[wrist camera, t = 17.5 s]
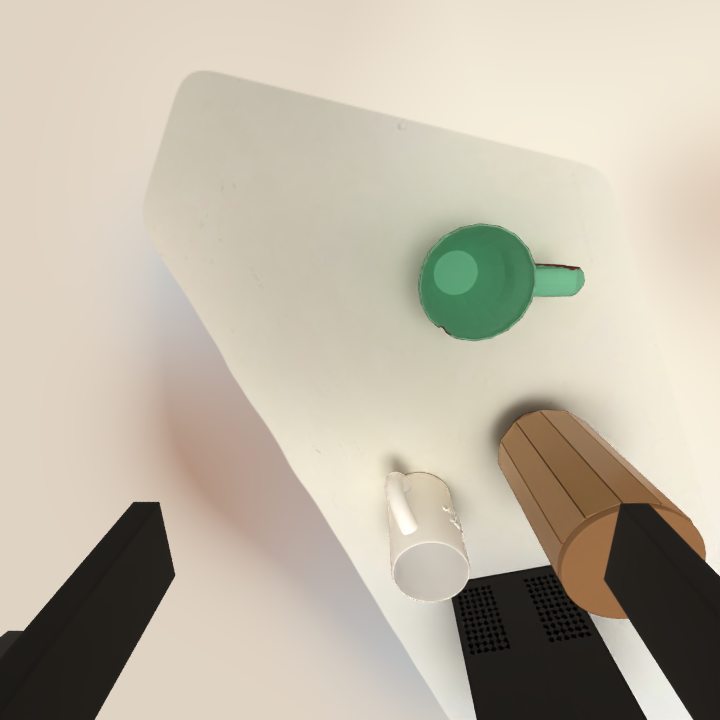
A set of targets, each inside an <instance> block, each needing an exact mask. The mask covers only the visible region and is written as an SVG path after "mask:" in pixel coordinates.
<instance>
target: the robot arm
mask: <svg viewBox="0 0 720 720" xmlns="http://www.w3.org/2000/svg"><path fill="white" fill-rule="evenodd" d="M174 577H175V572H174V567H173V562H172V558H171V553H170V549H169V544H168V540H167V535H166V530H165V526H164V521H163V517H162V512H161V507H160V503H159V502H133V503H132V504H131V506H130V507H129V508H128V509H127V510H126V512H125V513H124V514H123V515H122V516H121V517H120V519H119V520H118V521H117V522H116V523H115V524H114V526H113V527H112V528H111V529H110V530H109V531H108V533H107V534H106V535H105V536H104V537H103V539H102V540H101V541H100V542H99V543H98V544H97V545H96V547H95V548H94V549H93V550H92V551H91V553H90V554H89V555H88V556H87V557H86V558H85V560H84V561H83V562H82V563H81V564H80V565H79V567H78V568H77V569H76V570H75V571H74V573H73V574H72V575H71V576H70V577H69V578H68V579H67V581H66V582H65V583H64V584H63V586H62V587H61V588H60V589H59V590H58V591H57V592H56V594H55V595H54V596H53V597H52V598H51V599H50V601H49V602H48V603H47V604H46V605H45V606H44V608H43V609H42V610H41V611H40V612H39V614H38V615H37V616H36V617H35V618H34V619H33V621H32V622H31V623H30V624H29V625H28V627H27V628H26V629H25V630H24V631H8V632H6V633H5V634H4V635H3V636H1V637H0V720H95V718H96V716H97V715H98V713H99V711H100V709H101V707H102V706H103V704H104V702H105V700H106V698H107V697H108V695H109V693H110V691H111V689H112V688H113V686H114V684H115V682H116V680H117V679H118V677H119V675H120V673H121V672H122V670H123V668H124V666H125V664H126V662H127V661H128V659H129V657H130V656H131V654H132V652H133V650H134V648H135V647H136V645H137V643H138V641H139V639H140V638H141V636H142V634H143V632H144V631H145V629H146V627H147V625H148V623H149V622H150V620H151V618H152V616H153V614H154V612H155V611H156V609H157V607H158V605H159V604H160V602H161V600H162V598H163V597H164V595H165V593H166V591H167V589H168V588H169V586H170V584H171V582H172V580H173V579H174ZM604 581H605V582H606V584H607V586H608V587H609V589H610V590H611V592H612V593H613V595H614V596H615V598H616V600H617V601H618V603H619V604H620V606H621V607H622V609H623V611H624V612H625V614H626V615H627V617H628V618H629V620H630V622H631V623H632V625H633V626H634V628H635V629H636V631H637V632H638V634H639V636H640V637H641V639H642V640H643V642H644V643H645V645H646V647H647V648H648V650H649V651H650V653H651V654H652V656H653V658H654V659H655V661H656V662H657V664H658V665H659V667H660V668H661V670H662V672H663V673H664V675H665V676H666V678H667V679H668V681H669V683H670V684H671V686H672V687H673V689H674V690H675V692H676V694H677V695H678V697H679V698H680V700H681V701H682V703H683V704H684V706H685V708H686V709H687V711H688V712H689V714H690V715H691V717H692V719H693V720H720V576H719V575H718V574H717V573H716V572H715V571H714V570H713V569H712V568H711V567H710V566H709V565H708V564H707V563H706V562H705V561H704V560H703V559H702V558H701V557H700V556H699V555H698V554H697V553H696V552H695V551H694V550H693V548H692V547H691V546H690V545H689V544H688V543H687V542H686V541H685V540H684V539H683V538H682V537H681V536H680V535H679V534H678V533H677V532H676V531H675V530H674V529H673V528H672V527H671V526H670V525H669V524H668V523H667V522H666V521H665V520H664V519H663V518H662V517H661V515H660V514H659V513H658V512H657V511H656V510H655V509H654V508H653V507H652V506H651V505H650V504H649V503H620V508H619V512H618V517H617V521H616V526H615V530H614V535H613V540H612V544H611V549H610V553H609V558H608V562H607V567H606V571H605V576H604Z"/></svg>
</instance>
